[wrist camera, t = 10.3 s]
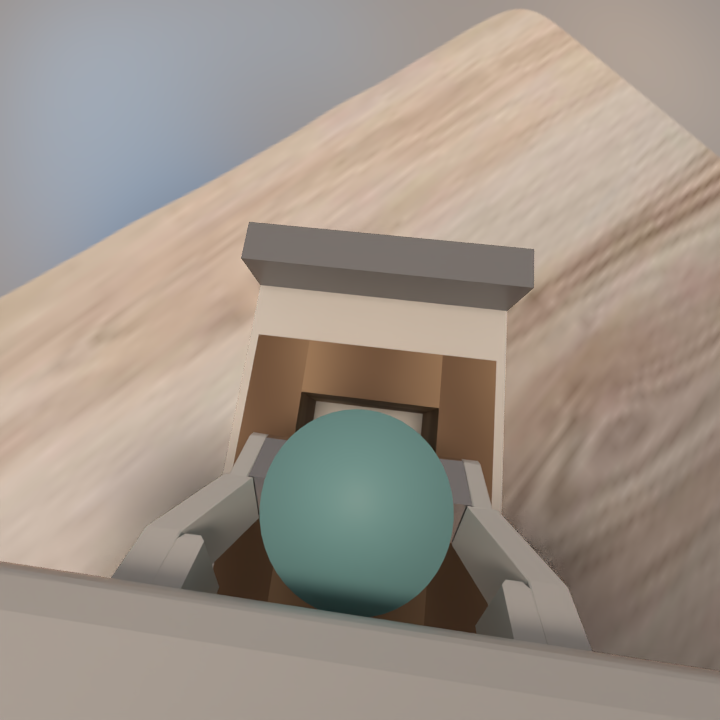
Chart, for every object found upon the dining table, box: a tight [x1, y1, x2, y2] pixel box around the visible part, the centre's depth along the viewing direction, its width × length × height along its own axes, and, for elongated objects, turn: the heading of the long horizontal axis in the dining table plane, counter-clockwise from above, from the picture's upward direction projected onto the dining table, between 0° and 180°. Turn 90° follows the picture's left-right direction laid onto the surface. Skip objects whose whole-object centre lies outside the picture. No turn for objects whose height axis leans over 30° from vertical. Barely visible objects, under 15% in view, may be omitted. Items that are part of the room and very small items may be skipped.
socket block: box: [213, 334, 496, 634], centre depth 15 cm, size 10×10×4 cm
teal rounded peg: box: [260, 409, 454, 617], centre depth 11 cm, size 4×4×8 cm
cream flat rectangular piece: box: [212, 222, 534, 567], centre depth 16 cm, size 14×20×4 cm
